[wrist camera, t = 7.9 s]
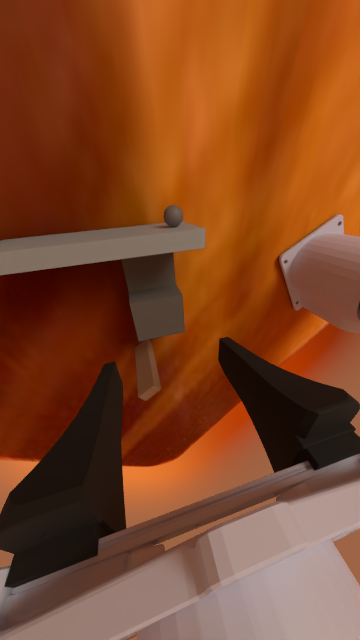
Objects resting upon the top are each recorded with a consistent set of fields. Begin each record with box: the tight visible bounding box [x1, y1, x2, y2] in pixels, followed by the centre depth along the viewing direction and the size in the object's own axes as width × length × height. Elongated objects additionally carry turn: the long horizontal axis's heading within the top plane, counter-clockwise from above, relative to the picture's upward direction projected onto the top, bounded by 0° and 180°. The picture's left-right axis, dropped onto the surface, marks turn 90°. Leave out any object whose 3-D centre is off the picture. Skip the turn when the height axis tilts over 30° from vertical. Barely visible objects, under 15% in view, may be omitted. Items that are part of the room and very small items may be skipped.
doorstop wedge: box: [121, 252, 185, 341], centre depth 18 cm, size 8×4×5 cm, turn 4°
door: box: [0, 205, 205, 275], centre depth 13 cm, size 14×3×6 cm, turn 94°
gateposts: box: [134, 340, 161, 401], centre depth 15 cm, size 23×2×7 cm, turn 39°
